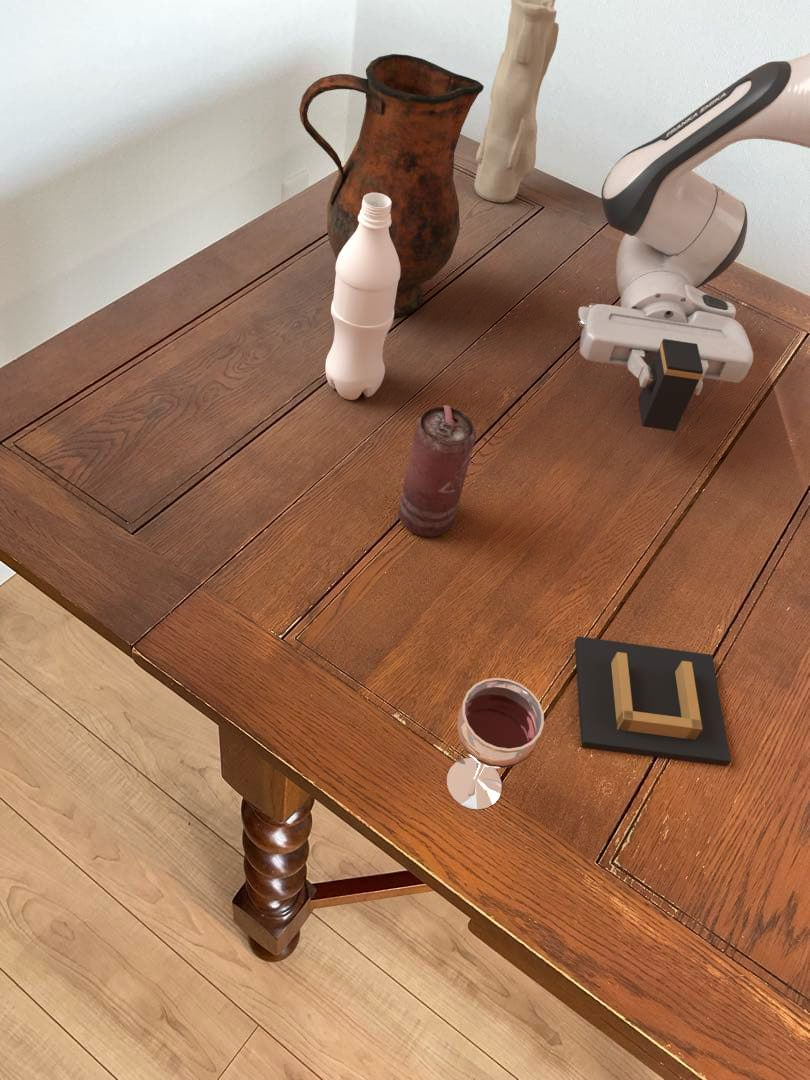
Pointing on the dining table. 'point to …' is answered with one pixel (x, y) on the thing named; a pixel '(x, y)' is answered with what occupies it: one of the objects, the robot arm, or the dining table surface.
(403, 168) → the pitcher
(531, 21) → the vase
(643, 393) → the upright block
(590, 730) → the base pad
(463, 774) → the wineglass
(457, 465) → the can
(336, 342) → the water bottle
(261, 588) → the dining table surface
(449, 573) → the dining table surface
